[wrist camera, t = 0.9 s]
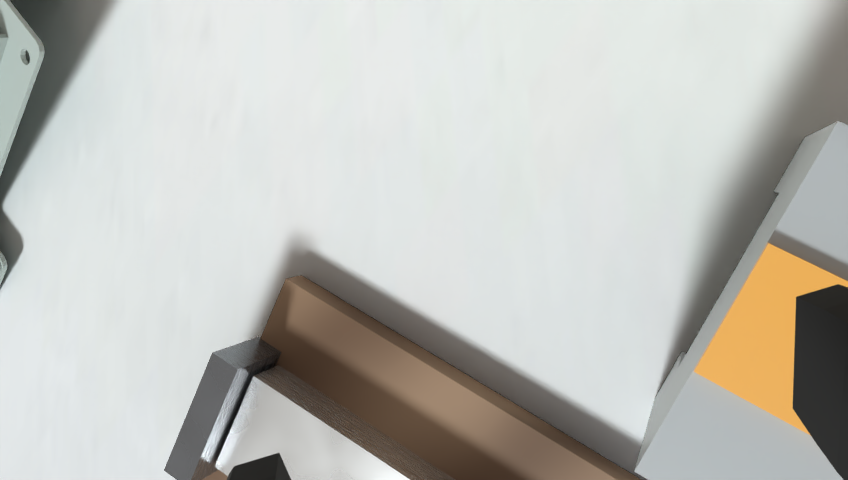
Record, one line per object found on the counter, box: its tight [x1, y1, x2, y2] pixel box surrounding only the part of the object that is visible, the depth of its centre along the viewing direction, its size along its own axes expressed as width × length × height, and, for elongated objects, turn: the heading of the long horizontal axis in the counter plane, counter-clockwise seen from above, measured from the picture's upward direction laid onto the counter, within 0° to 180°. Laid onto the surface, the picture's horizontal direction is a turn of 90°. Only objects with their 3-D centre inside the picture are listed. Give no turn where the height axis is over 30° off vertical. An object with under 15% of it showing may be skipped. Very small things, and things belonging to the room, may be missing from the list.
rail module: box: [634, 121, 848, 480], centre depth 18 cm, size 4×8×6 cm, turn 153°
